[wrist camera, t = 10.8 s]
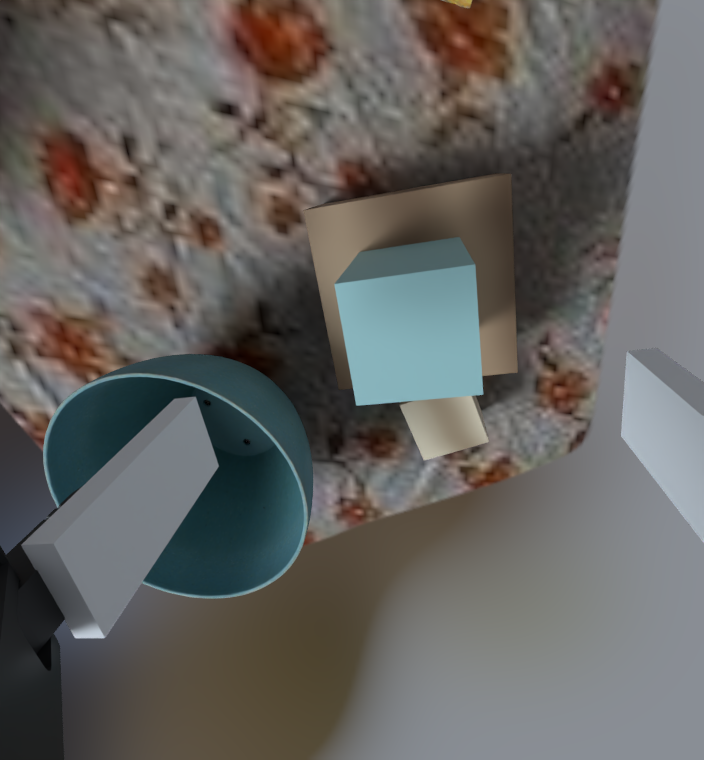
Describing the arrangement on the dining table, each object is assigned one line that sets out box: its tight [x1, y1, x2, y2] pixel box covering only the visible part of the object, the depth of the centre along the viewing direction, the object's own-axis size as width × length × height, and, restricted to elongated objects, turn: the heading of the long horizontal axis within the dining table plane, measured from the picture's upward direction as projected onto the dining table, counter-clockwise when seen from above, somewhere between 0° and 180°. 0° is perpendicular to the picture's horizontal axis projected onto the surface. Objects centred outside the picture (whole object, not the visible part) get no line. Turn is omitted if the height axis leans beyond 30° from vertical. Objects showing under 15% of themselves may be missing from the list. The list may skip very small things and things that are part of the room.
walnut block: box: [303, 173, 518, 390], centre depth 32 cm, size 12×12×6 cm
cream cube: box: [400, 395, 489, 460], centre depth 36 cm, size 5×5×5 cm
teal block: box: [334, 237, 483, 406], centre depth 25 cm, size 6×6×9 cm
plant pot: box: [43, 354, 313, 598], centre depth 36 cm, size 18×18×12 cm
